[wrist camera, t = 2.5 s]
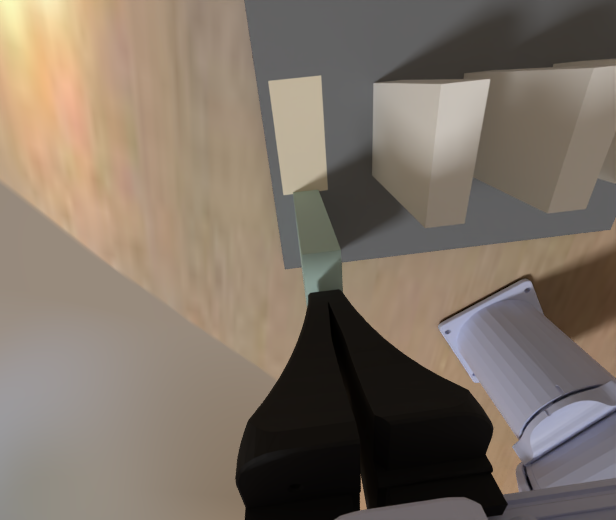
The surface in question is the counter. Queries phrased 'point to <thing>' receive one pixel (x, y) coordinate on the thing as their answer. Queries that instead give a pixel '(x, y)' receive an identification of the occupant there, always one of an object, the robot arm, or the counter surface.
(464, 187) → the domino
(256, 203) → the counter surface
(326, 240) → the domino
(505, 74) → the domino
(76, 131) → the counter surface
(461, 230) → the mat
